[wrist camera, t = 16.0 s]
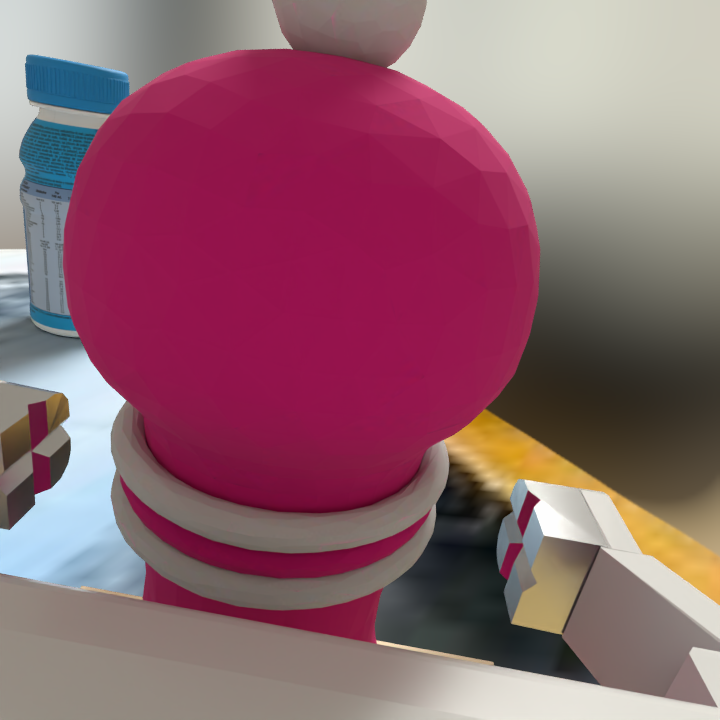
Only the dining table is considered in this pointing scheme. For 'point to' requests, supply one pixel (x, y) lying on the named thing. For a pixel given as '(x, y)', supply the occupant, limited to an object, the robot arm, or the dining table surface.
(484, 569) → the dining table surface
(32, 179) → the beverage bottle
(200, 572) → the pepper mill
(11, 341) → the dining table surface
